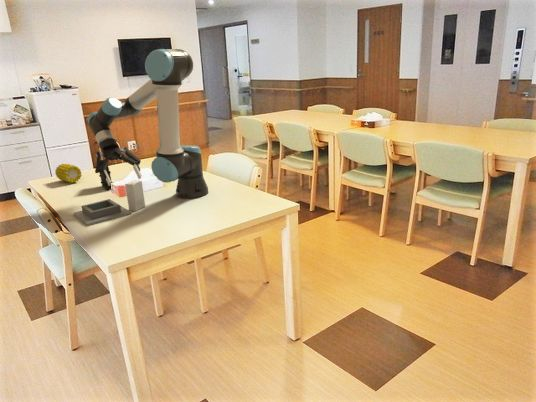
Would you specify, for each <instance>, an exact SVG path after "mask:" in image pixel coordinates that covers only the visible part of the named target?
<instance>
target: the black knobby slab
mask: <svg viewBox="0 0 536 402" xmlns="http://www.w3.org/2000/svg"><path fill="white" fill-rule="evenodd" d="M104 161H105V159H100V164H99V169H101V167H102V165H103V163H104ZM108 163H109V162H108ZM108 163H107V165H106V167H105V169H104V170H106V171H107V174H108V176H109V178H110V180H111V183H113V184H114V182H113V181H112V177H111V170H110V168H109V165H108ZM98 176H99V177H100V181H101V182H100V184H101V186H102V187H103V188H104V189H105V190H106V191H111V190H110V189H111V185H110V186H109V185H108V183H107V181H106V179H103V177H102V175H101V174H100V173H99V175H98Z"/></svg>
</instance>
